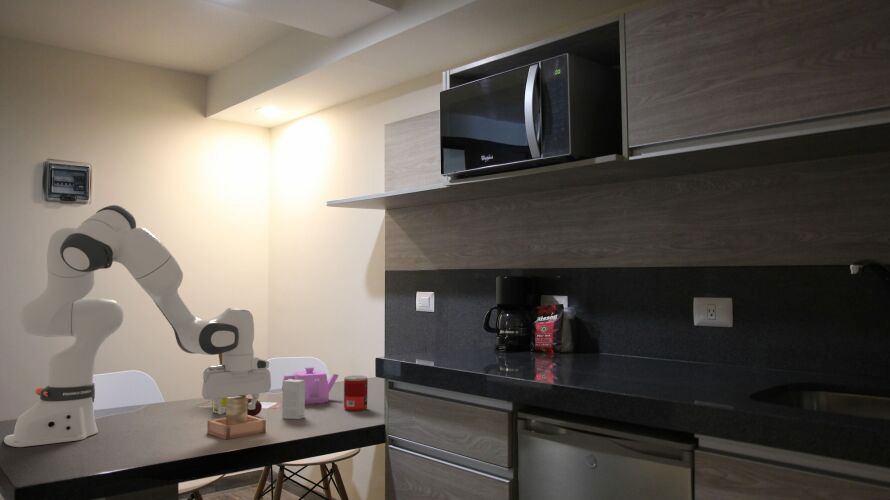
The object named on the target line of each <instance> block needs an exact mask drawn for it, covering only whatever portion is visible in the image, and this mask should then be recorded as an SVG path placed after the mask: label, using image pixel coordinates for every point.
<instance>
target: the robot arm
mask: <svg viewBox="0 0 890 500" xmlns="http://www.w3.org/2000/svg"><path fill="white" fill-rule="evenodd" d="M47 246H48V247H47V251H46V252H47V253H46V265H47V266H46V269H47V284H46V288H45V290H44V291H43V292H42V293H41V294H40V295H38V296H37V297H36V298H33V299H32V300H30V301H28V302H27V303H25V305H24V306H23V307H22V309H21V311H20V315H19V323H20V326H21V328H22V330H23V331H24V332H25V333H26V334H27V335H31V336H36V337H42V338H43V337H44V338H57V337H74V338H75V341H74V343H73V344H72V345H70V346H68V347H66V348H64V349H62V350H60V351H57V352H56V353H54V354H53V355H52V356H51V357H50V360H49V364H48V366H49V370H48V385H47V386H45V387H43V388H42V387H37V388H36V389H35V390H34V392H35V394H36V395H38V396H39V401H37V402H36V403H35V404H34V405H33V406H31V407H30V408H29V409H27V410H26V411H25V412H23V413H22V414H20V415H19V416H18V418H17V420H16V423H15V424H14V425H15V426H14V430H13V434H9V435H6V436H5V437H4V440H3V442H4V444H5V445H7V446H10V447H14V448H15V447H16V448H25V447H31V446H32V447H33V446H42V445H50V444H57V443H66V442H67V443H68V442H73V441H75V442H76V441H82V440H84V439H86V438H87V437H90V436H93V435H95V434H98V432H99V430H98V427H97V424H96V418H95V412H94V410H95V409H94V402H95V398H96V396H95V395H96V388H95V383H94V371H95V369H94V368H95V361H96V356H97V354H98V351H99V349H100V347H101V346H102V345H103V343H104V341H106V340H107V339H108V338H109V337H111V335H113V334H115V333H116V332H117V331H118V329H120V327H121V326H122V324H123V321H124V312H123V310H124V309H123V307H122V306H121V305H120V303H119V302H118V301H116V300H113V299H109V298H101V297H87V295H89V293H90V292H91V291H92V289H93V288H94V286H95V271H98V270H102V269H103V270H107V269H109V268H111V267H112V265H113V262H116V263H118V264H121V265H122V266H123V267H124V268H125V269H126V270H127V272H129V274H130V276H131V277H132V278H133V279H134V280H135V282H136V283H138V284H139V286H140V287H141V289H143V291H145V293H146V294H147V295H148V296H149V297H150V298H151V299H152V301H153V302H154V304H155V305H156V307H157V309H159V311H160V313H161V314H162V315H163V316H164V318H165V319H166V321H167V323H169V324H170V326H171V328H172V329H173V330H172V331H173V333H174V335H175V336H174V337H175V340H176V343H177V345H178V347H179V349H181V350H182V351H183V352H185V353H187V354H193V355H194V354H196V355H197V354H199V355H205V356H206V355H207V356H216V355H218V354H220V353H222V365H220V364H219V365H211V366H208V367H207V368H205V370H204V371H203V375H202V376H203V377H202V380H203V382H202V390H201V395H202V396H201V397H202V398H203V399H205V400H208V401H213V399H214V402H215V404H216V406H217V407H218V413H217V414H219V415H224V414H225V415H226V413H225V412H226V411H225V410H226V408H225V407H222V405H221V403H220V402H222V398H228V397H235V396H243V395H246V396H250V395H251V397H252V398H251V399H252V400H251V402H250V403H248V409H250V410H252V409H255V403H256V402H257V400H258V401H259V398H260V394H264V393H269V392H270V390H271V388H272V380H271V379H272V377H271V376H272V375H271V371H270V370H269V367H270V362H269V361H268V360H266V359H265V360H264V359H261V358H258V357H256V356H255V355H254V354H255V350H254V346H253V344H254V340H255V323H254V317H253V313H251V311H249V310H246V309H243V308H235V307H230V308H229V307H228V308H226V309H224V311H223V312H222V313H221V314H219V315H218V316H216V317H213V318H210V319H209V320H207V319H205V320H204V319H201V318H199V317H196V316H195V315H194V314H193V313H191V311H190V309H189V308H188V306H187V305H186V304H185V302H184V301H183V298H181V297H180V295H179V291H178V289H179V288H180V286H181V285H182V282H183V278H184V273H183V271H182V268H181V266H180V264H179V263H178V262H177V260H176V258H175V257H174V255H173V254H172V253H171V252H170V251H169V250H168V248H167V247H166V246H165V245H164V244H163V242H161V241H160V240H159V239H158V238H157V237H156V236H155V235H154V234H153V233H152V232H150V231H149V230H148V229H146V228H144V227H137V222H136V219H135V217H134V215H133V214H132V212H130V211H129V210H128V209H127V208H125V207H123V206H120V205H116V204H114V205H113V204H112V205H107V206H105V207H102V208H100V209H98V210H97V211H96V213H94V214H92V215H91V216H90V217H88V218H86V219H85V220H84V221H83V222H81V224H80V225H78V227H63V228H60V229H58V230H56V231H54V232H53V233H52V234H51V236H50V238H49V241H48V245H47Z"/></svg>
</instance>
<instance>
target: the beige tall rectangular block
mask: <svg viewBox="0 0 890 500" xmlns="http://www.w3.org/2000/svg"><path fill="white" fill-rule="evenodd" d="M248 399H249V397H246V398H245V397H241V396H235V397H228V398H226V413H225V418H226V425H234V424H240V423H246V422H247V407H248Z"/></svg>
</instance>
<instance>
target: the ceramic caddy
mask: <svg viewBox="0 0 890 500" xmlns="http://www.w3.org/2000/svg"><path fill="white" fill-rule="evenodd" d="M266 428H267V420H266V419H264V418H260V417H256V416H250V415H247V422H246V423H240V424H234V425H226V417H221V418H217V419H216V418H215V419H210V420H207V431H206V432H207V434H209V435H212V436H215V437H217V438H221V439H224V440H232V439H237V438H243V437H248V436H253V435H258V434H264V433H267V429H266Z"/></svg>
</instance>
